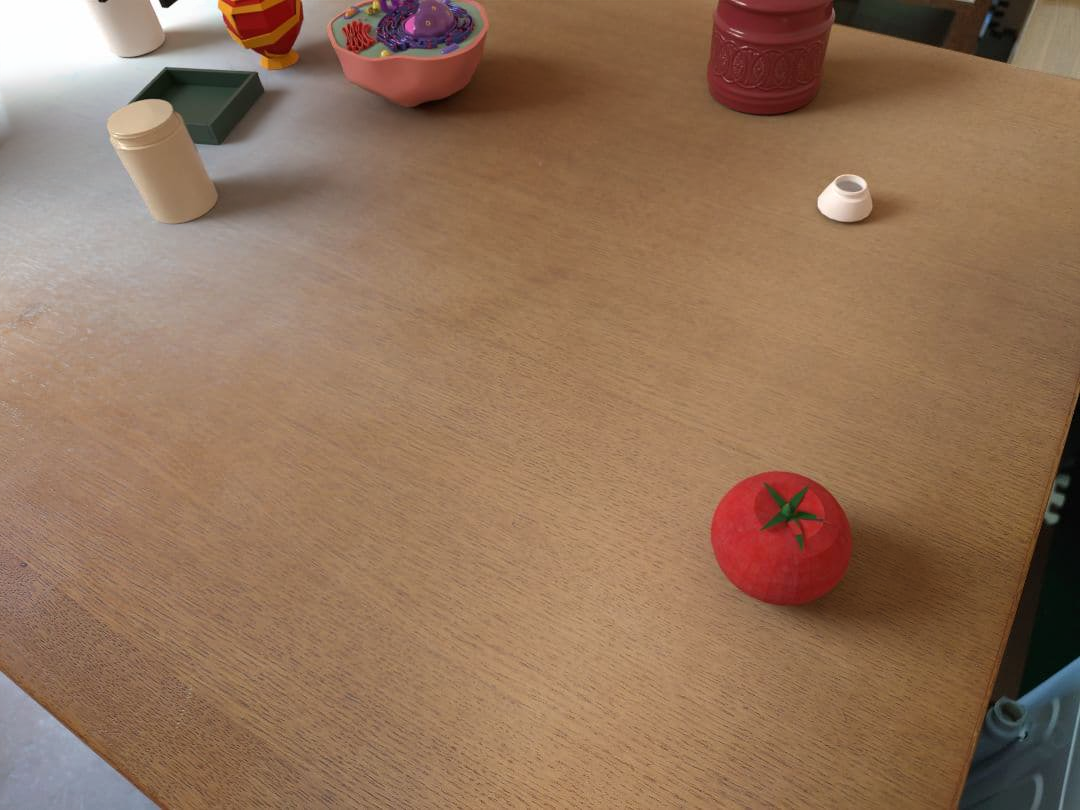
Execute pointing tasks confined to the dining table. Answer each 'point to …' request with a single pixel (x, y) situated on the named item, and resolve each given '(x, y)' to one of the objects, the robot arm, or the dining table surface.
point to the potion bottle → (265, 28)
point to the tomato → (781, 538)
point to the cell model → (410, 47)
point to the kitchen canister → (768, 53)
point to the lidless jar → (846, 199)
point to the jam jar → (162, 160)
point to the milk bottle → (127, 26)
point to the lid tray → (205, 98)
